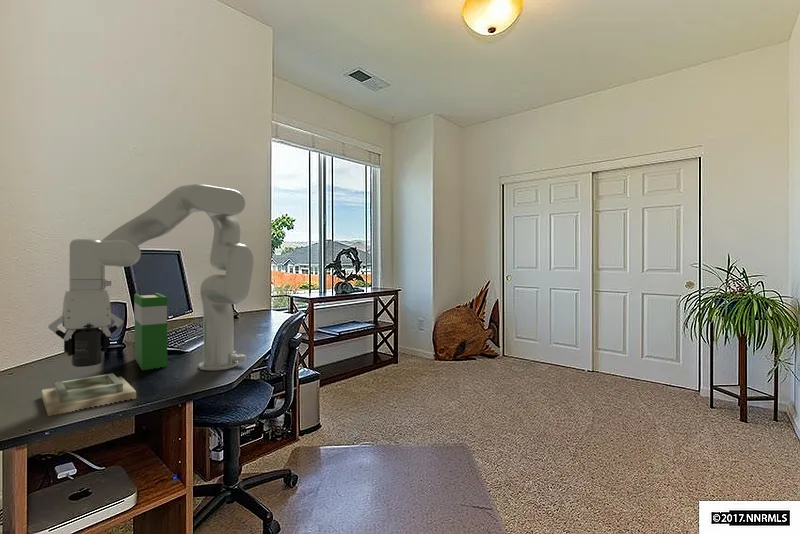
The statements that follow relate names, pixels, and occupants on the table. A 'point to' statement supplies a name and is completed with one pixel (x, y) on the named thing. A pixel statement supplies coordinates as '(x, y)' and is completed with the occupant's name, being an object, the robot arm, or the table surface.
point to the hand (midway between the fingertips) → (87, 352)
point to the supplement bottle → (87, 346)
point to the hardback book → (150, 330)
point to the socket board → (86, 393)
